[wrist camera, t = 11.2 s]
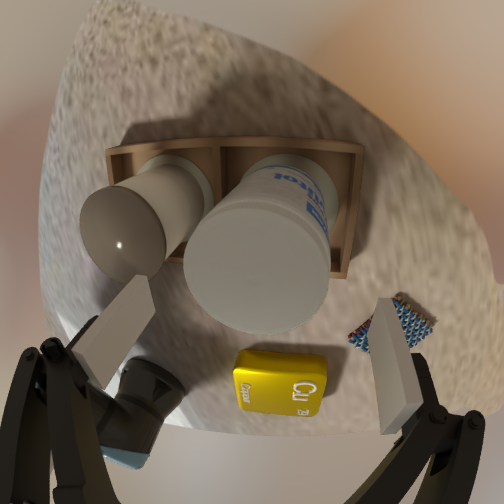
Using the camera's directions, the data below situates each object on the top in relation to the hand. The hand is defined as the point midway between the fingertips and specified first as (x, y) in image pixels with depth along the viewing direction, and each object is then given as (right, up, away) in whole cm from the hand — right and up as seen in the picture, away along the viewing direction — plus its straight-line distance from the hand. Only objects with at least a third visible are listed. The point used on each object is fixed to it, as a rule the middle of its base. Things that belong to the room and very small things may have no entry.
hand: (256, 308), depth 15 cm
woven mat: (+21, -8, +21) cm, 31 cm away
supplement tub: (+3, +8, +15) cm, 17 cm away
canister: (-10, +9, +17) cm, 22 cm away
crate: (-3, +9, +16) cm, 19 cm away
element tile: (+5, -19, +31) cm, 36 cm away
